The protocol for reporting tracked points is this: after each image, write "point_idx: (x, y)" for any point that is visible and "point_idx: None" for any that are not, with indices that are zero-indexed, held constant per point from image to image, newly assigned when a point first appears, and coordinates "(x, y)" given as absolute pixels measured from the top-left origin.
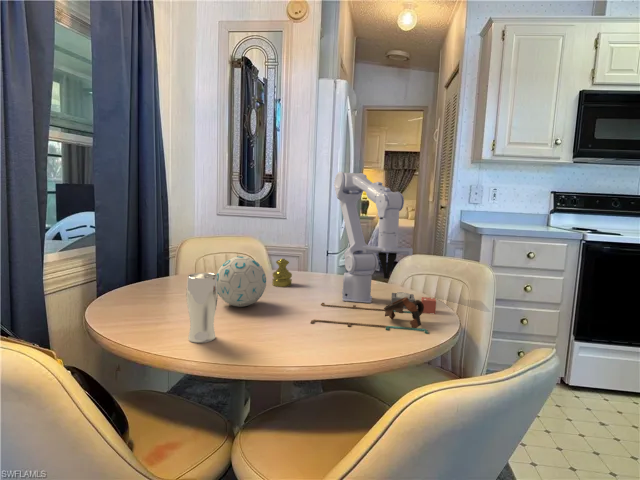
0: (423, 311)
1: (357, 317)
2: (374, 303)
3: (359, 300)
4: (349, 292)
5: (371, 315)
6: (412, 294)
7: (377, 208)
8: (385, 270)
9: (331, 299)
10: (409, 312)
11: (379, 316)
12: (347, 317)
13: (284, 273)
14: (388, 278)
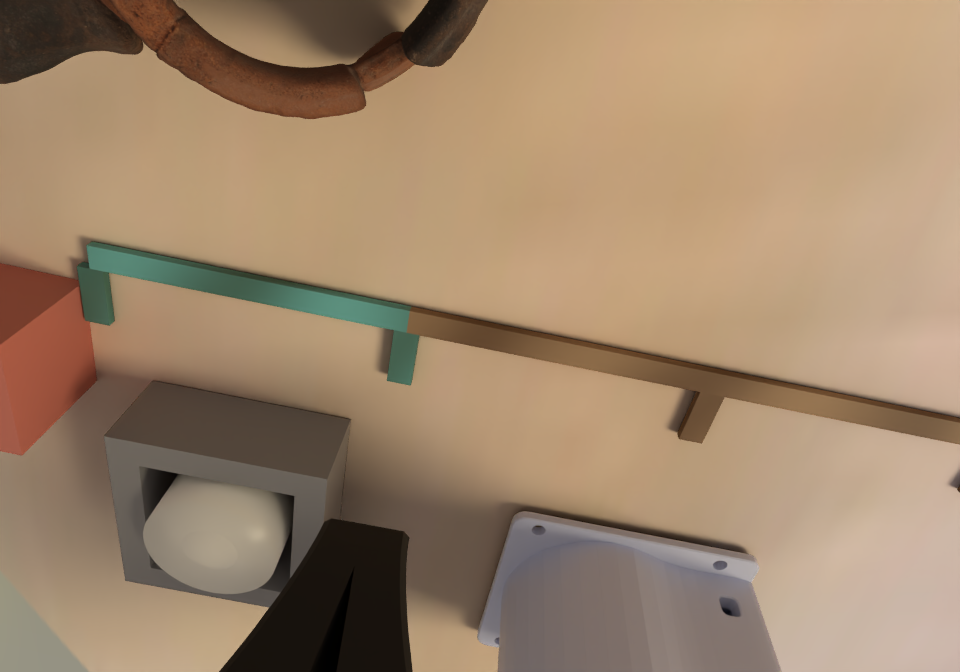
0: (60, 284)
1: (788, 71)
2: (484, 508)
3: (612, 543)
4: (709, 623)
5: (601, 160)
6: (132, 576)
7: None
8: (356, 656)
9: (832, 590)
10: (195, 264)
11: (520, 130)
12: (913, 62)
13: None
14: (327, 520)
